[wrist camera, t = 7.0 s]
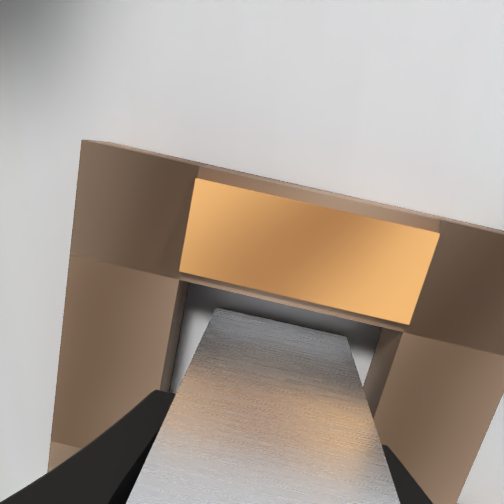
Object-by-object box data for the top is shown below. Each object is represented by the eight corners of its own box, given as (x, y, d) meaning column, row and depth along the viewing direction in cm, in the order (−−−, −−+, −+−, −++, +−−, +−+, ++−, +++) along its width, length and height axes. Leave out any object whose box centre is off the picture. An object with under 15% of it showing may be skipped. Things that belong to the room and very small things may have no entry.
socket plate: (859, 311, 11) (966, 339, 9) (653, 628, 13) (704, 693, 12) (108, 141, 11) (77, 138, 9) (67, 480, 14) (38, 523, 12)
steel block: (346, 336, 12) (428, 588, 5) (313, 446, 13) (345, 779, 6) (215, 307, 12) (121, 513, 5) (194, 418, 13) (91, 712, 6)
